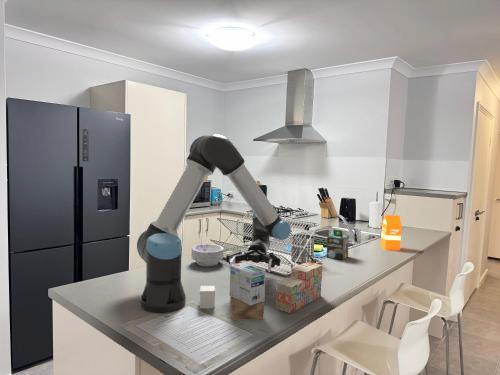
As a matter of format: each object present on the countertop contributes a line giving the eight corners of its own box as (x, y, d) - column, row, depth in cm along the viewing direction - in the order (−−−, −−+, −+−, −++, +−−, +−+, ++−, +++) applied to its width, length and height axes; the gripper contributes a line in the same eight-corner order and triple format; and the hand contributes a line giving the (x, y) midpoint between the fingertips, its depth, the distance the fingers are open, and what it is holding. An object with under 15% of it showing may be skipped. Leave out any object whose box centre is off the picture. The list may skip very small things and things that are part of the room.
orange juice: (400, 250, 211) (402, 216, 209) (385, 249, 211) (387, 216, 209) (394, 246, 218) (397, 214, 217) (380, 246, 219) (382, 214, 217)
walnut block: (232, 320, 113) (232, 305, 113) (230, 307, 123) (230, 293, 123) (263, 320, 115) (263, 304, 114) (258, 307, 125) (259, 293, 124)
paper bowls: (215, 270, 162) (215, 253, 162) (185, 266, 167) (185, 249, 166) (228, 261, 177) (228, 245, 176) (200, 257, 182) (200, 242, 181)
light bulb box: (265, 301, 117) (266, 269, 116) (250, 306, 113) (251, 273, 112) (243, 291, 125) (244, 261, 124) (228, 296, 120) (229, 264, 119)
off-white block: (199, 308, 121) (200, 291, 121) (200, 302, 126) (200, 285, 126) (214, 308, 122) (215, 291, 121) (214, 302, 127) (214, 285, 126)
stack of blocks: (290, 314, 119) (292, 278, 118) (275, 308, 123) (276, 273, 122) (321, 296, 136) (322, 264, 135) (306, 292, 140) (308, 261, 139)
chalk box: (348, 256, 193) (349, 229, 192) (342, 260, 185) (344, 232, 184) (331, 253, 198) (333, 227, 196) (325, 257, 190) (327, 229, 189)
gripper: (227, 240, 148) (215, 253, 127) (288, 244, 144) (285, 258, 123) (227, 258, 148) (214, 274, 127) (287, 262, 145) (285, 280, 124)
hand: (249, 266), depth 125 cm, fingers open, 13 cm apart
